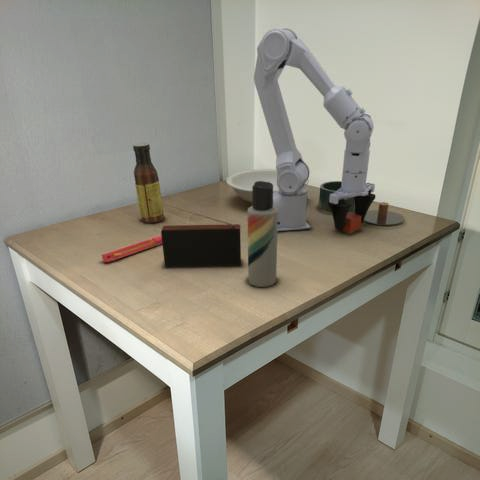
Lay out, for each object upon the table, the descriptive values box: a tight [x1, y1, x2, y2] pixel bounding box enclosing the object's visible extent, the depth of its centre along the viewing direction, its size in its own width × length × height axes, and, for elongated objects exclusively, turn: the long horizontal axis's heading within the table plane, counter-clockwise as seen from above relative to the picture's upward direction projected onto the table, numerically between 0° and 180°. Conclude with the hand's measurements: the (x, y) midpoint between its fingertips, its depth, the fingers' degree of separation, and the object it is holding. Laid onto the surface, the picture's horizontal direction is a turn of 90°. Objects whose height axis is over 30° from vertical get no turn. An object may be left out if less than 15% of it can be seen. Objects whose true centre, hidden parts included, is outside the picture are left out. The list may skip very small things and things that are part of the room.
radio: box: [148, 199, 242, 268], centre depth 100 cm, size 19×3×15 cm, turn 90°
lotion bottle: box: [247, 181, 278, 288], centre depth 91 cm, size 6×6×20 cm
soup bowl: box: [225, 168, 310, 204], centre depth 139 cm, size 24×24×7 cm
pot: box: [318, 180, 355, 214], centre depth 132 cm, size 10×10×6 cm
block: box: [342, 212, 362, 234], centre depth 118 cm, size 4×4×4 cm
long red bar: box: [100, 234, 162, 263], centre depth 112 cm, size 24×2×5 cm
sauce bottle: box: [132, 142, 165, 224], centre depth 123 cm, size 7×6×20 cm
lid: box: [363, 201, 405, 227], centre depth 123 cm, size 11×11×5 cm
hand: (349, 225), depth 118 cm, fingers open, 7 cm apart
